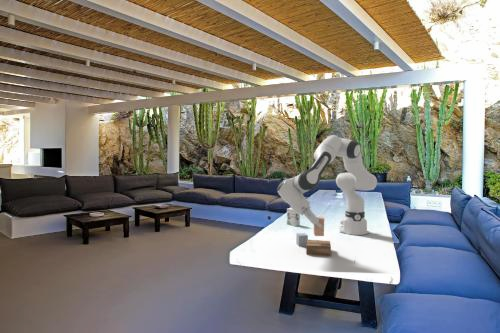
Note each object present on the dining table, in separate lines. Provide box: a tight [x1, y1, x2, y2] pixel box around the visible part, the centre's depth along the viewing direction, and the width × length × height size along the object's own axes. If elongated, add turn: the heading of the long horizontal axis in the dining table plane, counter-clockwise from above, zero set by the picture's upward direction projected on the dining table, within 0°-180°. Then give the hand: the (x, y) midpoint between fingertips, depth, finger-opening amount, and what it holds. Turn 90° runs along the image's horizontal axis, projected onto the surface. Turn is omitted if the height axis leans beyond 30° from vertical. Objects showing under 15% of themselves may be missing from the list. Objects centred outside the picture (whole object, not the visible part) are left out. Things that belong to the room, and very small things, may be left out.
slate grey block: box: [295, 232, 309, 247], centre depth 190 cm, size 5×5×6 cm
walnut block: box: [305, 239, 332, 257], centre depth 177 cm, size 12×12×5 cm
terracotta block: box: [313, 216, 325, 237], centre depth 177 cm, size 4×4×9 cm
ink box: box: [286, 207, 301, 227], centre depth 243 cm, size 9×5×12 cm, turn 37°
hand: (320, 225), depth 177 cm, fingers closed on terracotta block, 4 cm apart
